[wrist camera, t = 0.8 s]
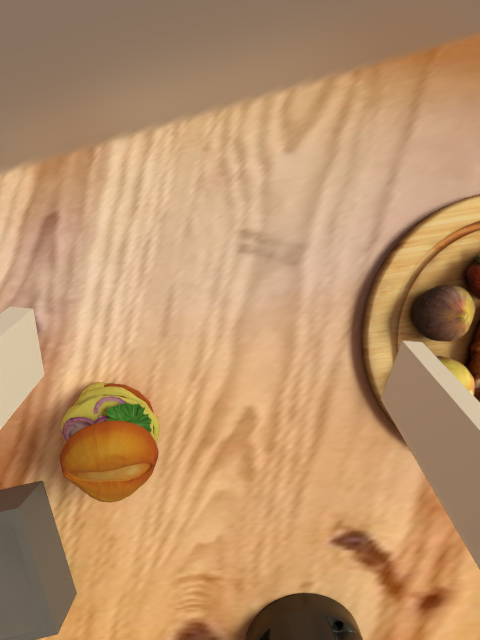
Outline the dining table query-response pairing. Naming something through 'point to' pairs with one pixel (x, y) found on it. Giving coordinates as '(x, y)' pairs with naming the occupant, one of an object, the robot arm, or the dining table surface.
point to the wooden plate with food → (429, 298)
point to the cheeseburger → (109, 441)
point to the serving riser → (31, 566)
